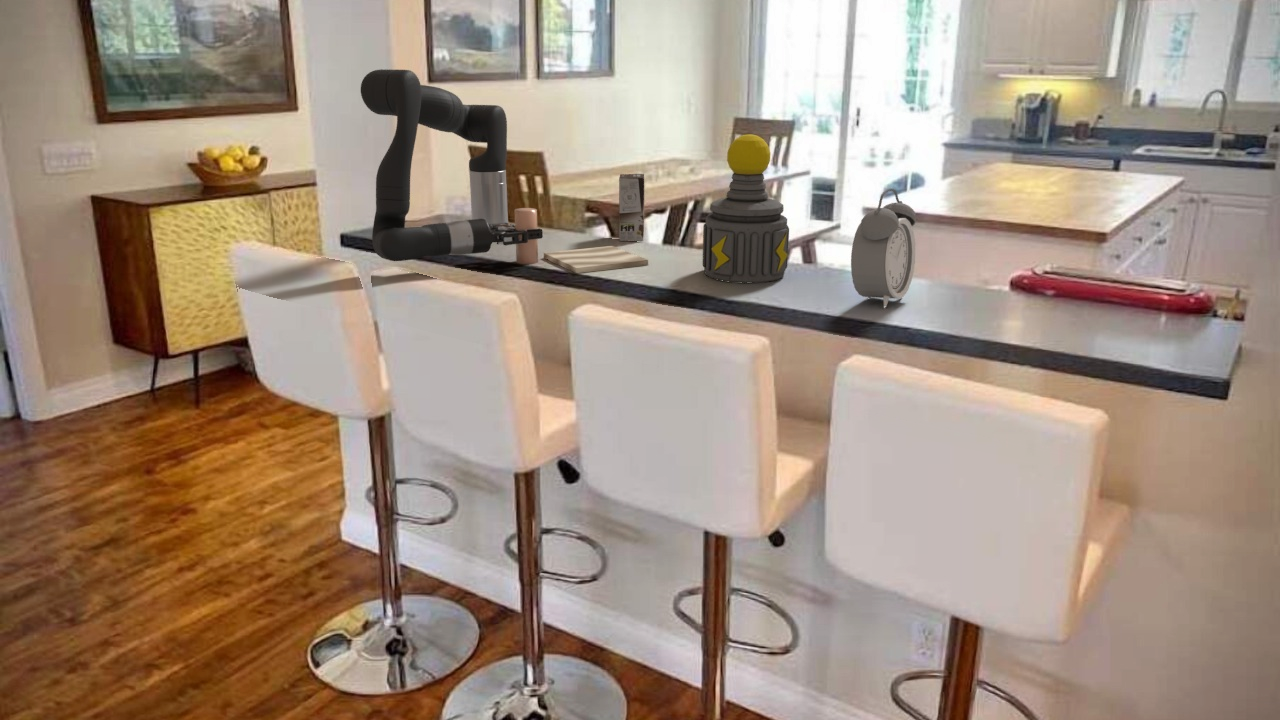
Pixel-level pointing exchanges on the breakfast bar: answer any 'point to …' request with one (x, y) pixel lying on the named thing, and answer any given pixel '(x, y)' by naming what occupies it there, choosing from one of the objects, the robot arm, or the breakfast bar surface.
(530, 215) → the terracotta canister
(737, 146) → the decorative lamp
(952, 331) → the breakfast bar surface
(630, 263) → the ash board
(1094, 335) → the breakfast bar surface
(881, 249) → the alarm clock
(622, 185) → the coffee box
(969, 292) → the breakfast bar surface
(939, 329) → the breakfast bar surface
